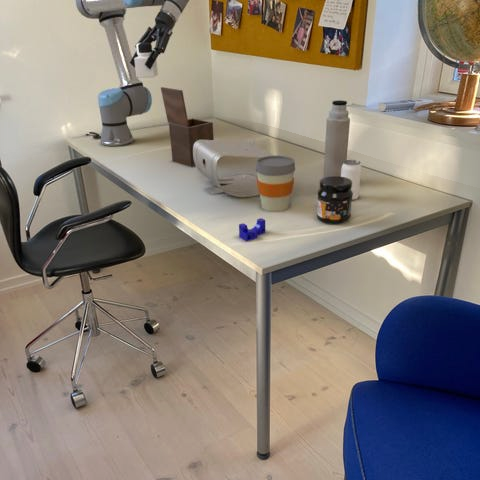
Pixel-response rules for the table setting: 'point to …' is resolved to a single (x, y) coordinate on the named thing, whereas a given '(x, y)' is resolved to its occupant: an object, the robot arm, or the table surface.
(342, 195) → the supplement container
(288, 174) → the reusable coffee cup
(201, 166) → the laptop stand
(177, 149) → the chest
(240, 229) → the cable holder
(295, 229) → the table surface
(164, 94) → the lid
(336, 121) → the thermos bottle
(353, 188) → the can
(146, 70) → the medicine bottle
